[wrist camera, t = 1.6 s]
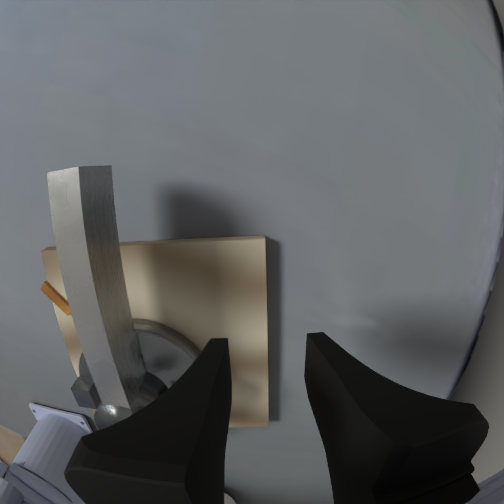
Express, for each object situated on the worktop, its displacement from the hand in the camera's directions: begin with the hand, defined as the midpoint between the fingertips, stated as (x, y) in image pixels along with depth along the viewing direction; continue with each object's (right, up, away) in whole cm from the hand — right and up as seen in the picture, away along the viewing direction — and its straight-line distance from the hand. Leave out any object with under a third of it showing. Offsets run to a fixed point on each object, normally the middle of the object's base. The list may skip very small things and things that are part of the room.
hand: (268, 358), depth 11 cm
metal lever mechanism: (-9, -1, +8) cm, 12 cm away
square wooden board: (-8, -3, +10) cm, 13 cm away
